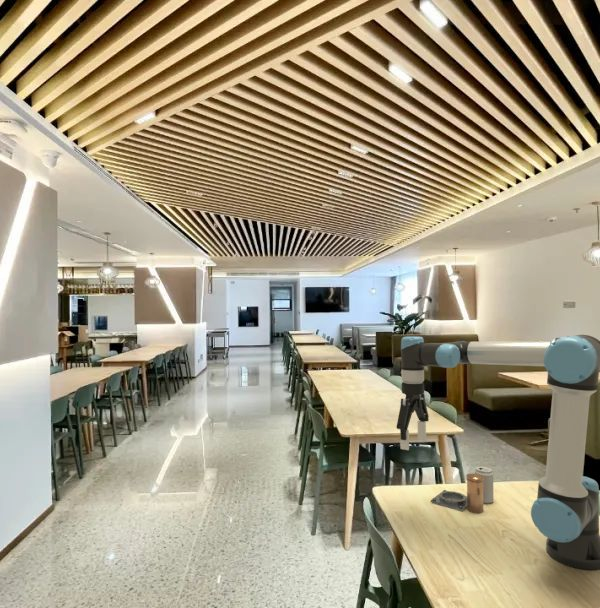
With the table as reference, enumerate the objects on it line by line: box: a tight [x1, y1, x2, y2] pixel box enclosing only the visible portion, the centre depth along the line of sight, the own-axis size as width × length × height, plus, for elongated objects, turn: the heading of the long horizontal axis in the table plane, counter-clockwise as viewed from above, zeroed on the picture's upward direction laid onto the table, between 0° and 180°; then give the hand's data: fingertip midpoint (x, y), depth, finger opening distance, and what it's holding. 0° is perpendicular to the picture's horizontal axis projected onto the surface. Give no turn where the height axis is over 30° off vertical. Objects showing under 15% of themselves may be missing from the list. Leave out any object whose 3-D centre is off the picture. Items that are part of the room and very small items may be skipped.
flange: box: [430, 489, 467, 512], centre depth 172 cm, size 12×12×2 cm
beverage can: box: [474, 466, 494, 505], centre depth 172 cm, size 6×6×12 cm
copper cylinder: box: [465, 473, 484, 514], centre depth 165 cm, size 6×6×12 cm
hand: (413, 444), depth 157 cm, fingers open, 13 cm apart
